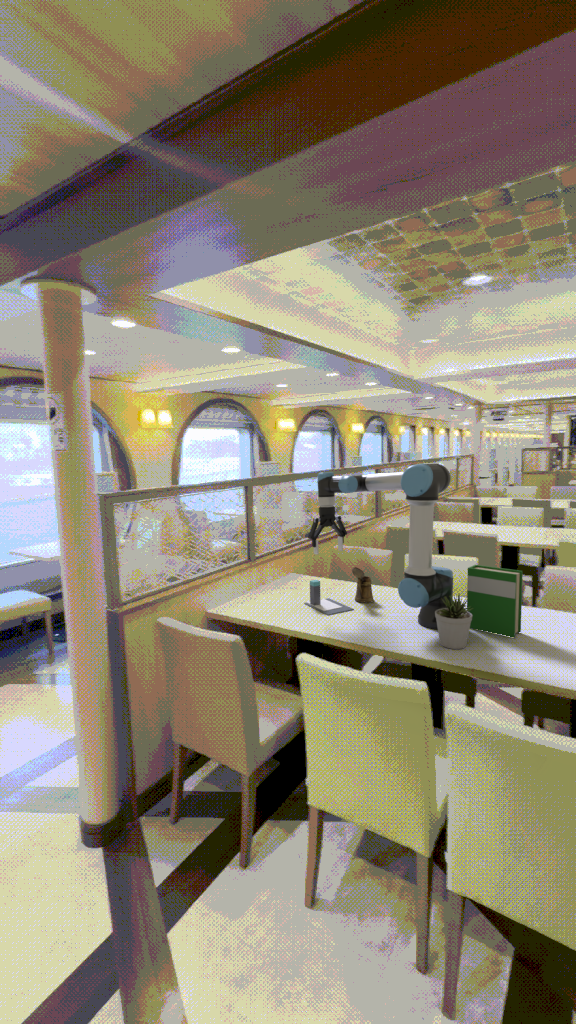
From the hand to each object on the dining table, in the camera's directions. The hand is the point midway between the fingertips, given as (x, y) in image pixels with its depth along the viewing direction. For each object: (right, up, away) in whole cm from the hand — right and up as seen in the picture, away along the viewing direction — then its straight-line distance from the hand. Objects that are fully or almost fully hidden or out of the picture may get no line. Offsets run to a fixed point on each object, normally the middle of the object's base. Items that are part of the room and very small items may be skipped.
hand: (328, 552), depth 207 cm
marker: (-6, -24, +4) cm, 25 cm away
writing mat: (0, -25, +2) cm, 25 cm away
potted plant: (+40, -29, -46) cm, 67 cm away
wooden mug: (+17, -24, +9) cm, 31 cm away
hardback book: (+61, -28, -32) cm, 74 cm away
